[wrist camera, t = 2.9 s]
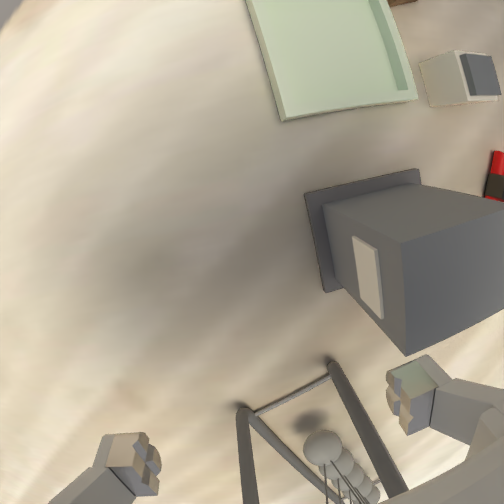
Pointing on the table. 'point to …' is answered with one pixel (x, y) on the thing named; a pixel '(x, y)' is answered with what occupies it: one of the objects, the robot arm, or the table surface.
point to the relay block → (460, 79)
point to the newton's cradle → (324, 451)
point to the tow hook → (496, 178)
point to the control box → (411, 255)
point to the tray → (331, 55)
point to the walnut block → (398, 2)
